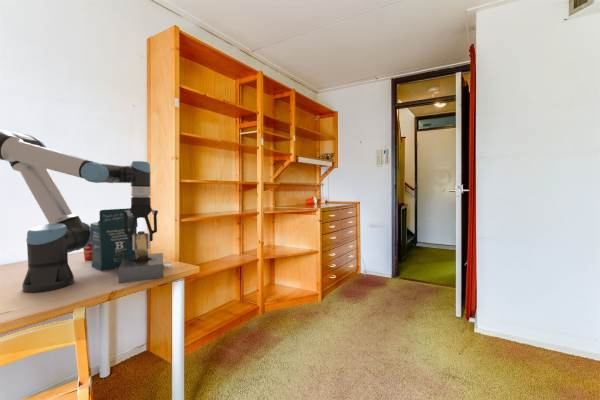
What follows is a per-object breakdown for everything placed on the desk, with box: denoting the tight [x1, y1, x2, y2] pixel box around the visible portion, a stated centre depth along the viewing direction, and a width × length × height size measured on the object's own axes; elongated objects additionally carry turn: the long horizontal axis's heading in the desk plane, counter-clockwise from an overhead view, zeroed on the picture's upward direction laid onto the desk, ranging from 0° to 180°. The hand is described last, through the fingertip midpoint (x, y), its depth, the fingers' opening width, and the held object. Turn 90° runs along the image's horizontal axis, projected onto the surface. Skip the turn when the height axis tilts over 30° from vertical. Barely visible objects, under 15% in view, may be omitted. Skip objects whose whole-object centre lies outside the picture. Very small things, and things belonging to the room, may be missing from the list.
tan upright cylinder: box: [135, 230, 149, 262], centre depth 128 cm, size 5×5×13 cm
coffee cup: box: [82, 241, 92, 262], centre depth 153 cm, size 8×8×15 cm
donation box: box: [89, 207, 138, 272], centre depth 142 cm, size 16×16×28 cm
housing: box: [118, 252, 164, 284], centre depth 129 cm, size 16×22×6 cm
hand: (141, 248), depth 128 cm, fingers closed on tan upright cylinder, 5 cm apart
